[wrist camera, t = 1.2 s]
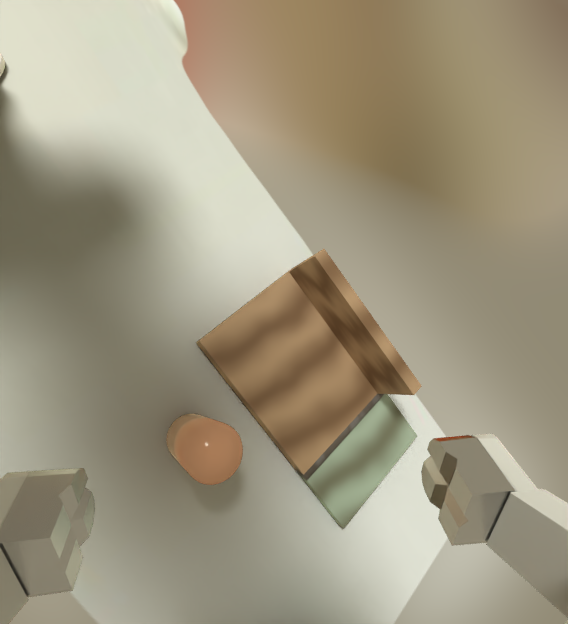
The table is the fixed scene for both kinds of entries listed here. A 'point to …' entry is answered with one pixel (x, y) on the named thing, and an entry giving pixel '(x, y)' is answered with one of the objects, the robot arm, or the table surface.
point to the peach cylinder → (205, 448)
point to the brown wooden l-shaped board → (318, 381)
